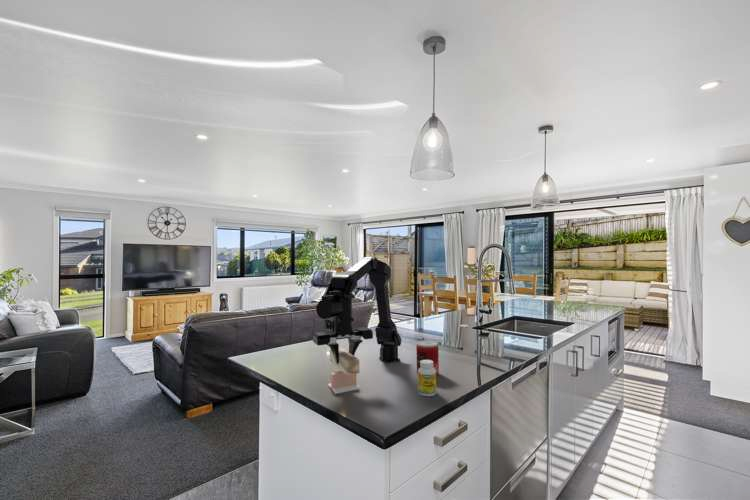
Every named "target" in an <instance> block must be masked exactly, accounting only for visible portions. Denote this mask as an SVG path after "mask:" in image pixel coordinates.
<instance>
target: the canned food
mask: <svg viewBox="0 0 750 500" xmlns="http://www.w3.org/2000/svg"><path fill="white" fill-rule="evenodd" d="M415 349H416V350H415V351H416V373H417V375H418V369H419V368H420V367H421V366H420V361H421V360H431V361H433V368H434V369H435V370H436V377H437V376H438V375H439V371H440V370H439V369H440V367H439V366H440V364H439V363H440V362H439V358H440V357H439V342H437V341H435V340H428V339H426V340H419V341H417V342H416V348H415Z"/></svg>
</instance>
